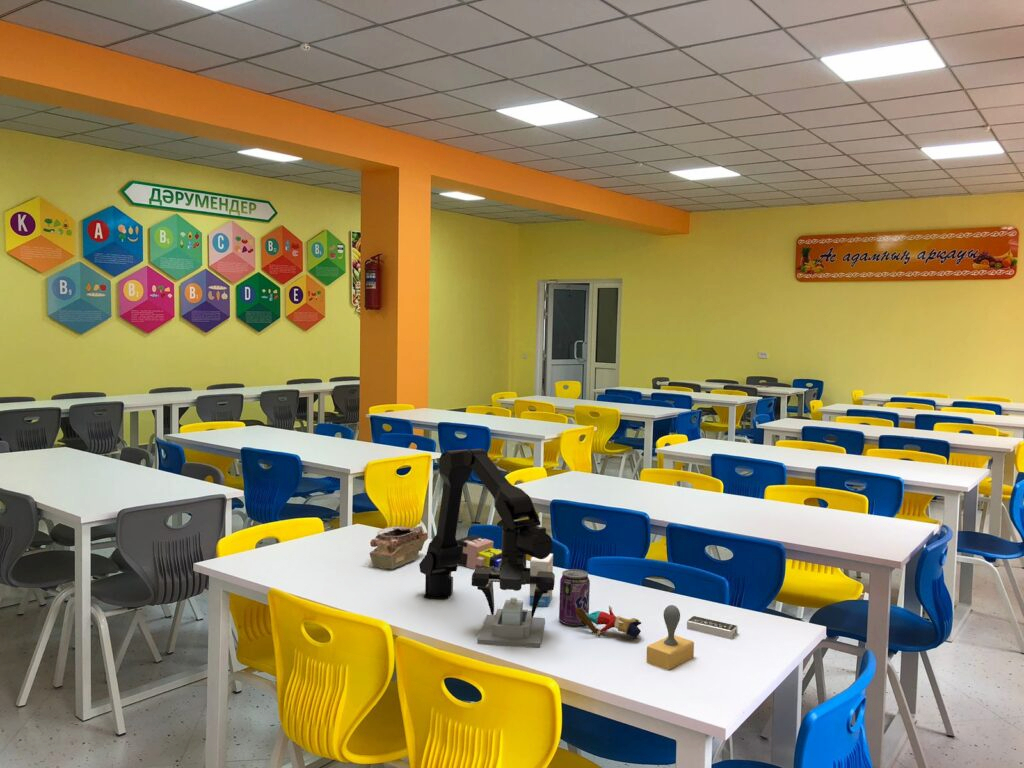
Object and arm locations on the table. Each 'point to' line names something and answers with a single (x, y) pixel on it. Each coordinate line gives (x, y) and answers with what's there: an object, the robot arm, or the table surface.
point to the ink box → (535, 567)
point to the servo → (512, 612)
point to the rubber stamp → (670, 644)
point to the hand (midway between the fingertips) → (512, 615)
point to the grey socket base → (512, 631)
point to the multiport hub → (712, 627)
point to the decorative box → (396, 546)
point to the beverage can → (573, 596)
